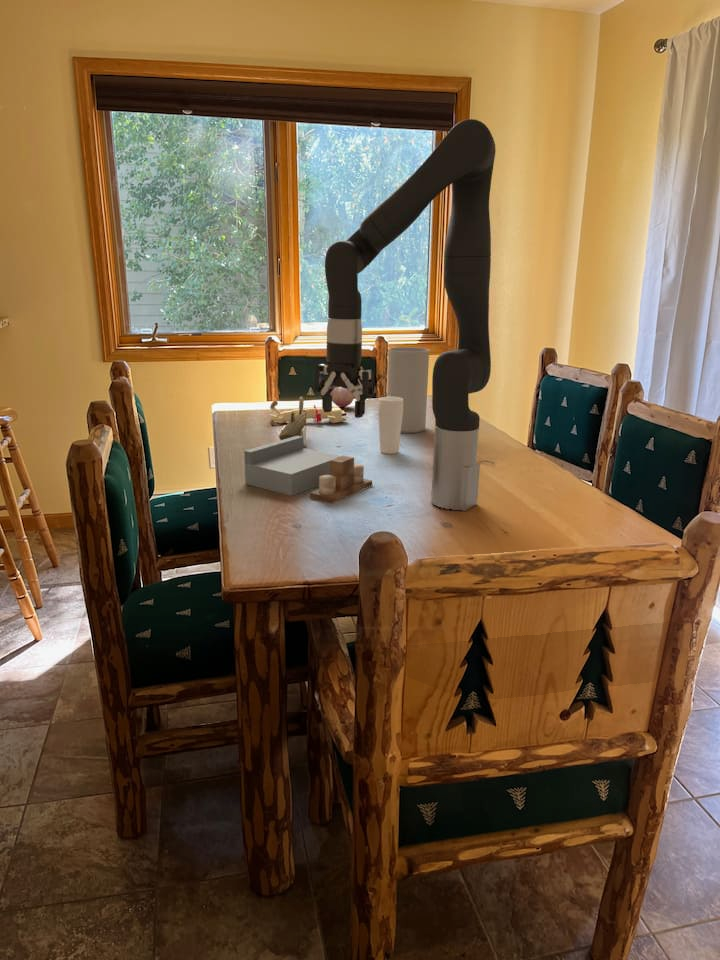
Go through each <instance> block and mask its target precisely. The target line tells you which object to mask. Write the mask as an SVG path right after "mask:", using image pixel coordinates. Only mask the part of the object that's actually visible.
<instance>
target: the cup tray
mask: <svg viewBox="0 0 720 960" xmlns="http://www.w3.org/2000/svg"><path fill="white" fill-rule="evenodd" d="M340 456H341V457H338V458H335V459H332V460H330V475H322V476H320V477H319V485H318V489H316V490H312V491H310V492H309V499H312V500H317V501H320V500H321V501H320V502H324V501H325V502H324V503H328V504H334V503H335V501H336V502H338V501H340V500H343V499H345V498H347V497H350V496H352V495H354V494H355V493H359V492H361V491H363V490H365V489H368V488H370V487H372V486H373V480H372V479H367V478H364V475H365V474H364V473H365V472H364V470H365V469H364V468H365V466H364V465H363V464H359V463H356V464H355V457H352V456H348V455H340ZM371 485H372V486H371ZM369 486H370V487H369ZM367 487H368V488H367ZM364 488H365V489H364ZM362 489H363V490H362ZM360 490H361V491H360ZM358 491H359V492H358ZM353 493H354V494H353ZM351 494H352V495H351ZM346 496H347V497H346ZM344 497H345V498H344ZM342 498H343V499H342ZM339 499H340V500H339ZM337 500H338V501H337Z"/></svg>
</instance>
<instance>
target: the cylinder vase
mask: <svg viewBox="0 0 720 960" xmlns="http://www.w3.org/2000/svg"><path fill="white" fill-rule="evenodd" d="M387 352H388V353H387V354H388V356H387V387H386V397H400V398H403V418H402V426H401V434H416V433H415V432H417V433H420V432H424V431H425V430H426V424H427V422H426V421H427V405H428V404H427V403H428V402H427V401H428V386H429V385H428V384H429V383H428V381H429V368H430V367H429V364H430V363H429V361H430V349H428V348H424V347H415V346H414V347H412V346H408V347H407V346H399V347H398V346H397V347H395V346H394V347H390V348H388V351H387Z"/></svg>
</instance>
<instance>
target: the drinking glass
mask: <svg viewBox="0 0 720 960" xmlns="http://www.w3.org/2000/svg"><path fill="white" fill-rule="evenodd" d="M377 410H378V411H377V412H378V413H377V414H378V431H379V451H380V452H381V453H382V454H384V455H385V454H386V455H394V454H398V453H399V451H400V444H401V443H400V441H401V434H402V433H401V426H402V418H403V398H400V397H387V396H381V397H379V398H378V409H377Z"/></svg>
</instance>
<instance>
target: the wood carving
mask: <svg viewBox="0 0 720 960" xmlns="http://www.w3.org/2000/svg"><path fill="white" fill-rule="evenodd" d="M298 403H299V405H298V409H299V412H298V413H297V414H296V415H295V416H294V412H292V414H291V419H290V421H287V424H285V425H283V427H282V428H281V431H280V433H279V436H278V438H279V439H280V440H284V439H287V438H291V437H294V436H302V437H303V448H304V449H307V447H308V446H307V426H306V425H307V419H306V414H307V413H305V410H303V409H304V403H305V402H304V397H303V396H300V397H299V400H298ZM280 440H279V441H280Z"/></svg>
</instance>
